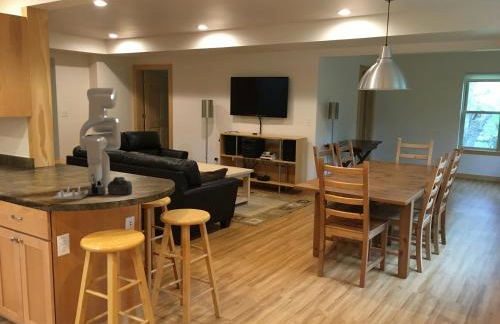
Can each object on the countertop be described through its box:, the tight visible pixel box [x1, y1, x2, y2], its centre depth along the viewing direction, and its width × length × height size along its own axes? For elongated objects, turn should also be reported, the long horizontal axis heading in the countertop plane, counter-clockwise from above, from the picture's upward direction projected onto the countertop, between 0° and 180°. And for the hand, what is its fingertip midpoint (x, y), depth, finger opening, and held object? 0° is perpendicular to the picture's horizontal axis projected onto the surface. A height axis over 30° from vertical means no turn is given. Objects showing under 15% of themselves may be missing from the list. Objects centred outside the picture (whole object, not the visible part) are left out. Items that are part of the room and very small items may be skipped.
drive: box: [87, 184, 107, 196], centre depth 233 cm, size 5×9×4 cm, turn 104°
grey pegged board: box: [52, 186, 89, 200], centre depth 228 cm, size 12×15×4 cm
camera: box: [107, 176, 133, 196], centre depth 234 cm, size 13×10×10 cm
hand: (96, 192), depth 233 cm, fingers closed on drive, 5 cm apart
